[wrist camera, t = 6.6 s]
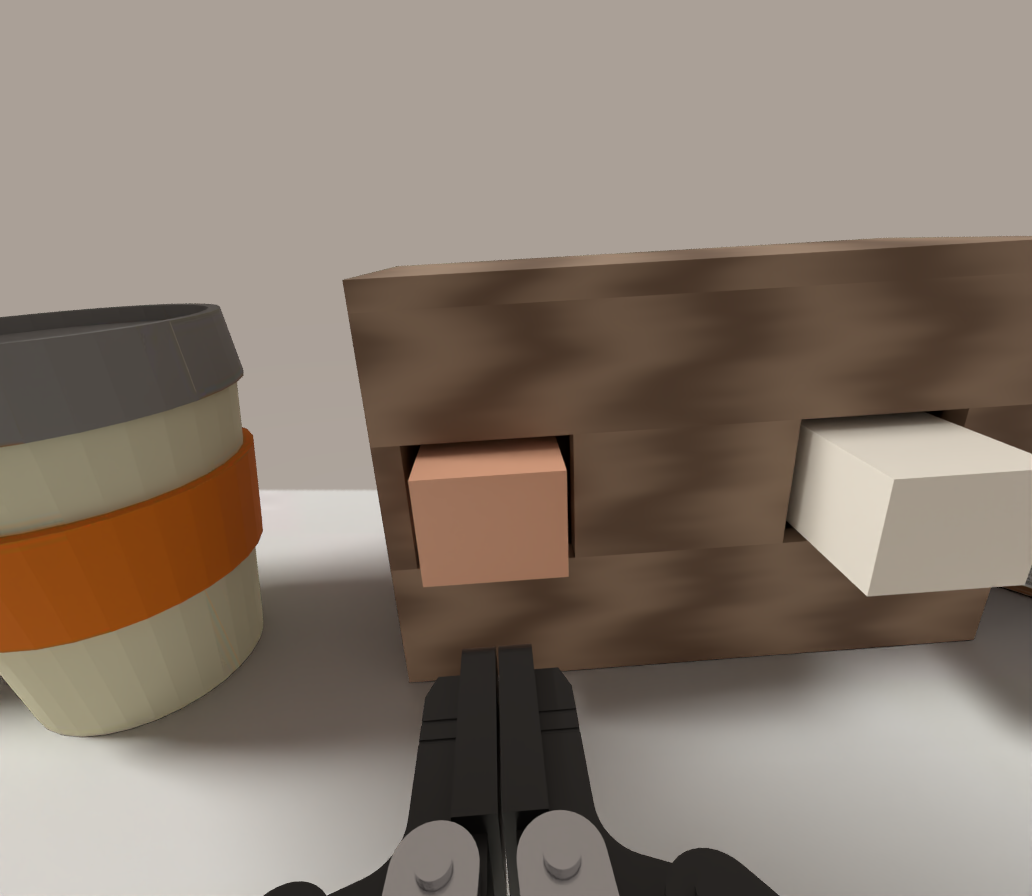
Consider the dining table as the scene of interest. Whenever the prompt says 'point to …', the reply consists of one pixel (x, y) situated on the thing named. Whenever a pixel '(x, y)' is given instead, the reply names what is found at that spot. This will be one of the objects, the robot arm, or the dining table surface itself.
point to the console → (683, 431)
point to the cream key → (913, 503)
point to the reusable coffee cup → (124, 514)
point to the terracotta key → (490, 511)
